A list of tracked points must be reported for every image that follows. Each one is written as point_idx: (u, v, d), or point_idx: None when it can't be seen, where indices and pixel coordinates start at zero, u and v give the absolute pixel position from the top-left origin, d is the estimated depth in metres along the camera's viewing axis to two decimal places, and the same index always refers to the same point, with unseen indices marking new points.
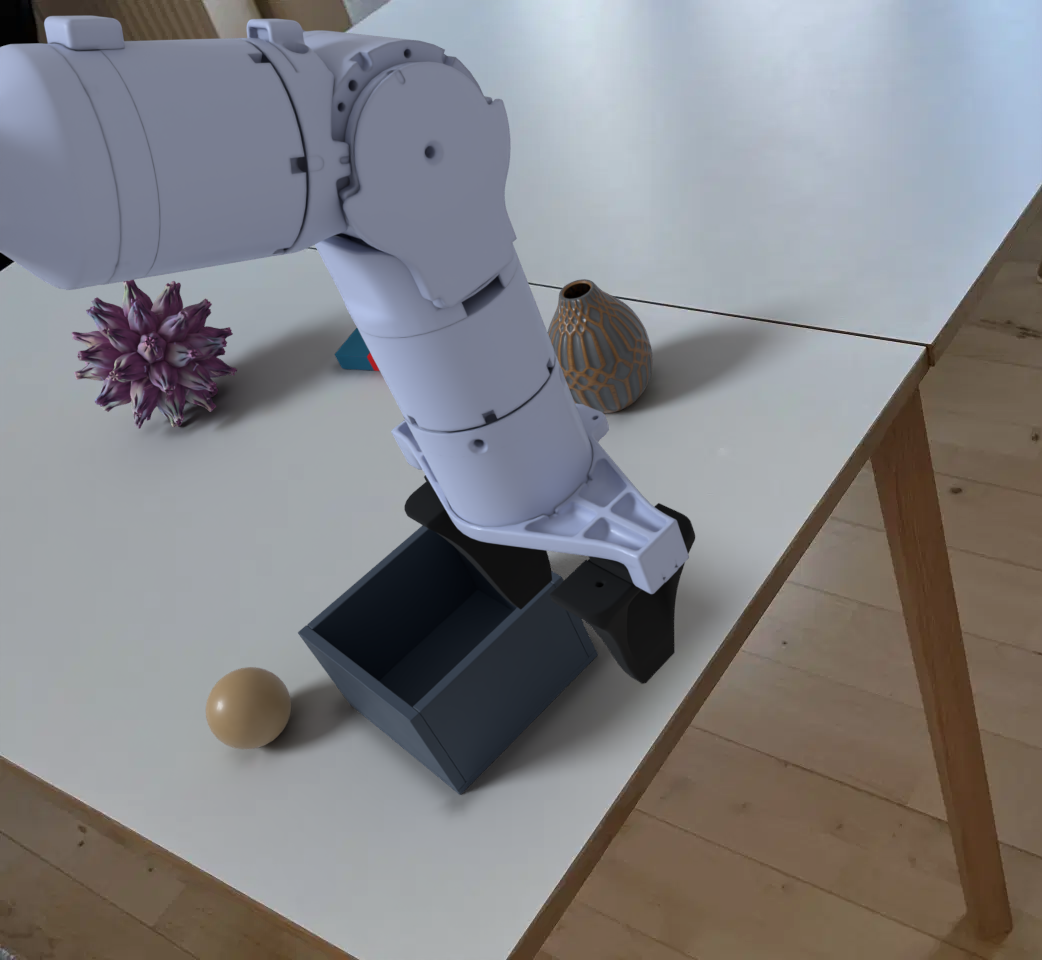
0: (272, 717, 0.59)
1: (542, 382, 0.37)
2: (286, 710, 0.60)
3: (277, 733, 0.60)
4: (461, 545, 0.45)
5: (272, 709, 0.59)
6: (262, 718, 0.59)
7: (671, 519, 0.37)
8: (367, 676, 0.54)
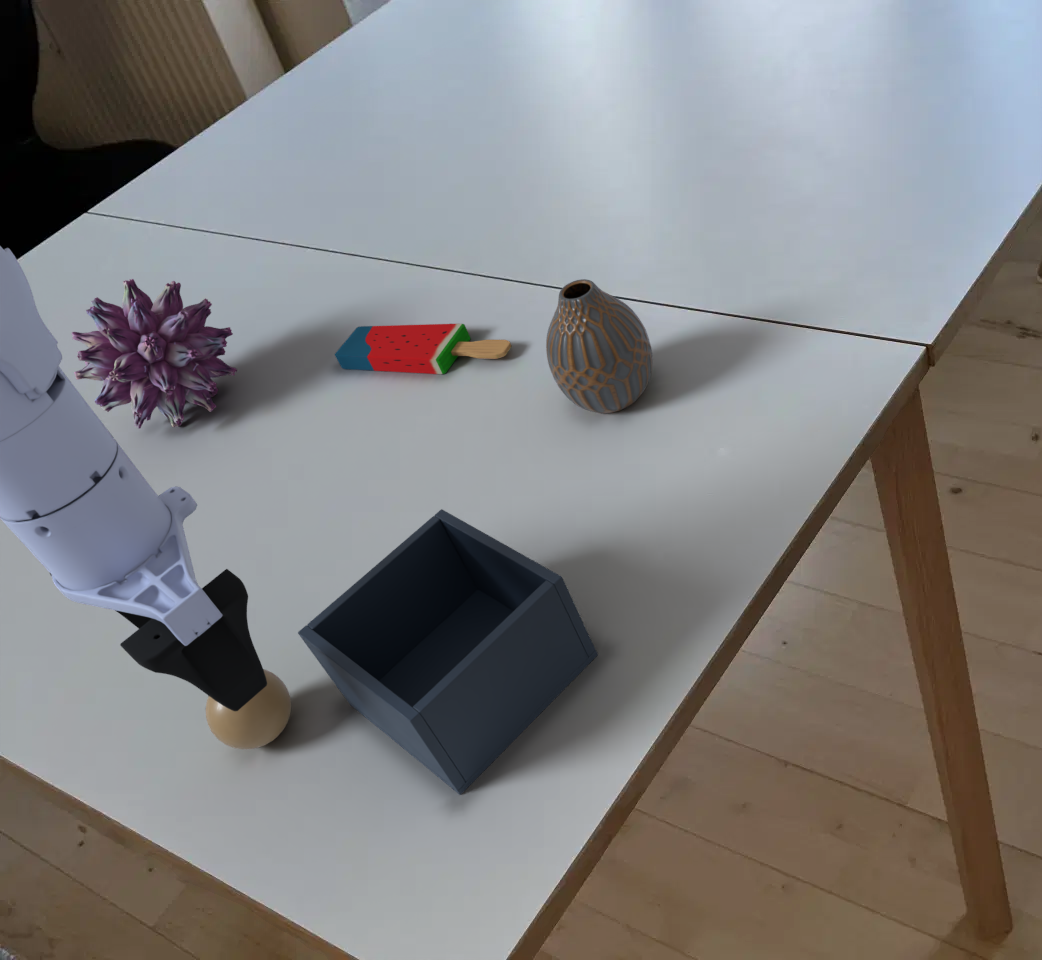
0: (272, 717, 0.59)
1: (94, 481, 0.47)
2: (286, 710, 0.60)
3: (277, 733, 0.60)
4: None
5: (272, 709, 0.59)
6: (262, 718, 0.59)
7: (197, 588, 0.48)
8: (367, 676, 0.54)
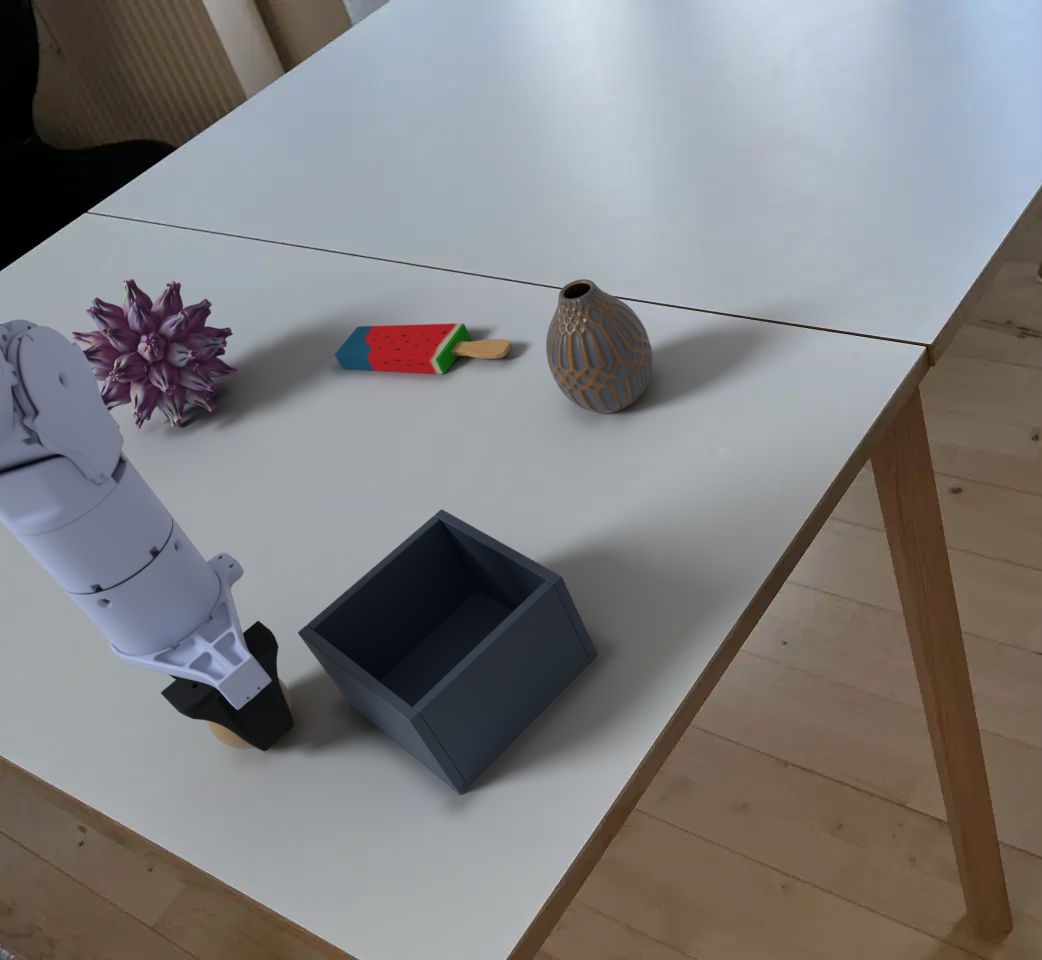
0: None
1: (152, 556, 0.50)
2: None
3: None
4: None
5: None
6: None
7: (249, 655, 0.51)
8: (367, 676, 0.54)
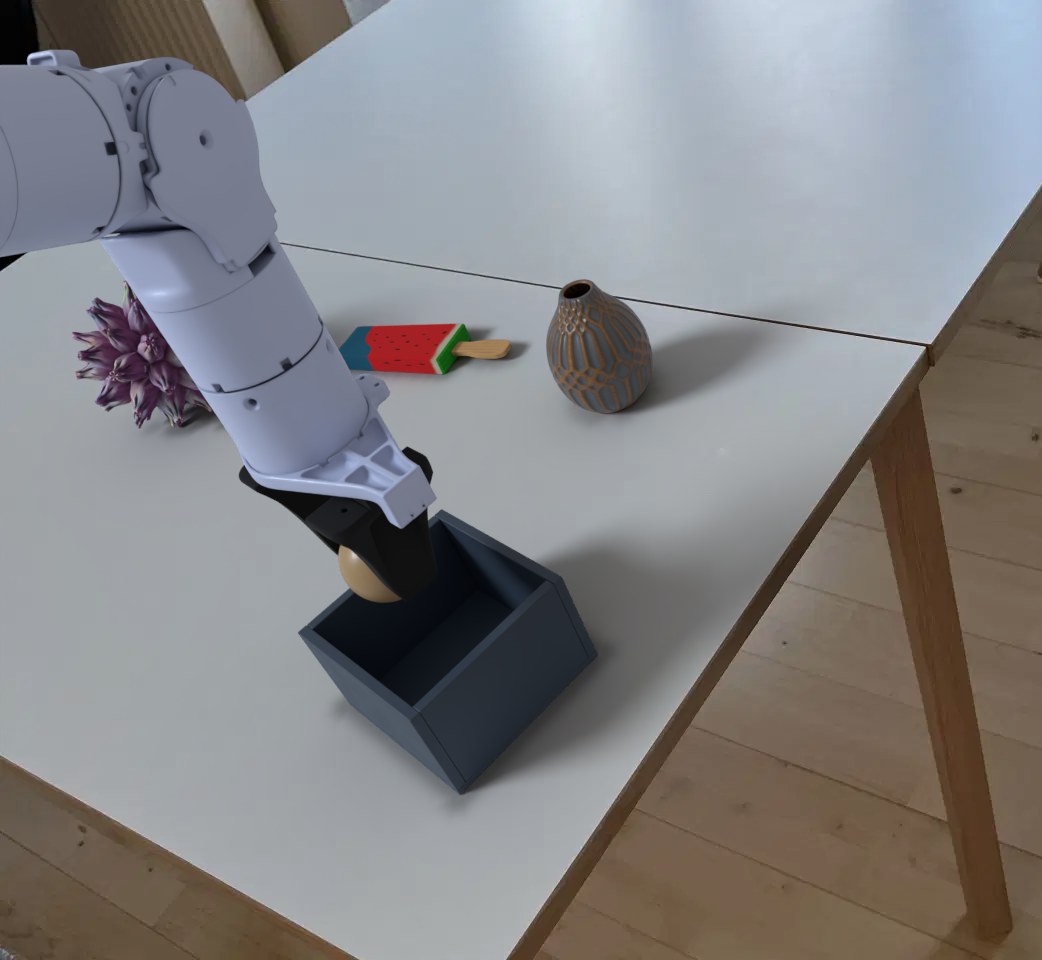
0: None
1: (305, 351, 0.44)
2: None
3: None
4: (289, 507, 0.52)
5: None
6: None
7: (415, 465, 0.44)
8: (367, 676, 0.54)
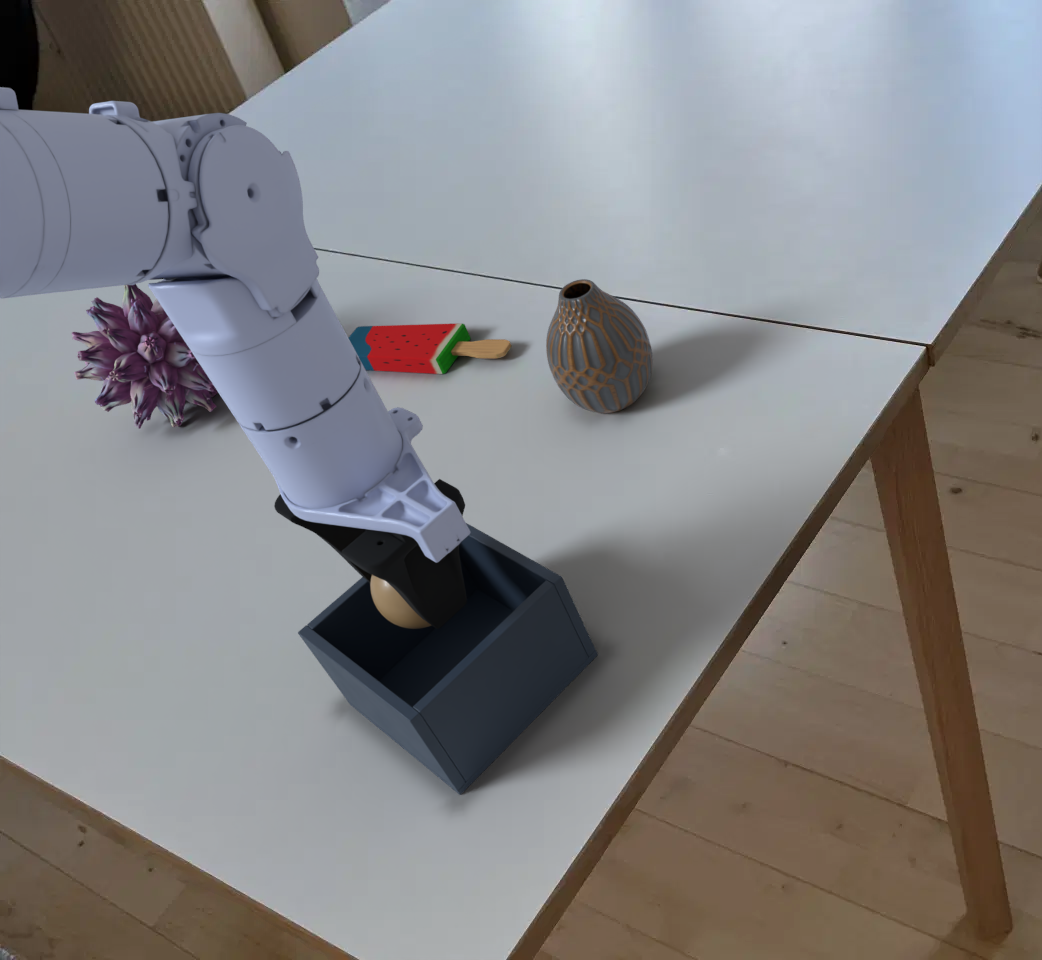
0: None
1: (344, 390, 0.46)
2: None
3: None
4: (323, 536, 0.53)
5: None
6: None
7: (450, 501, 0.46)
8: (367, 676, 0.54)
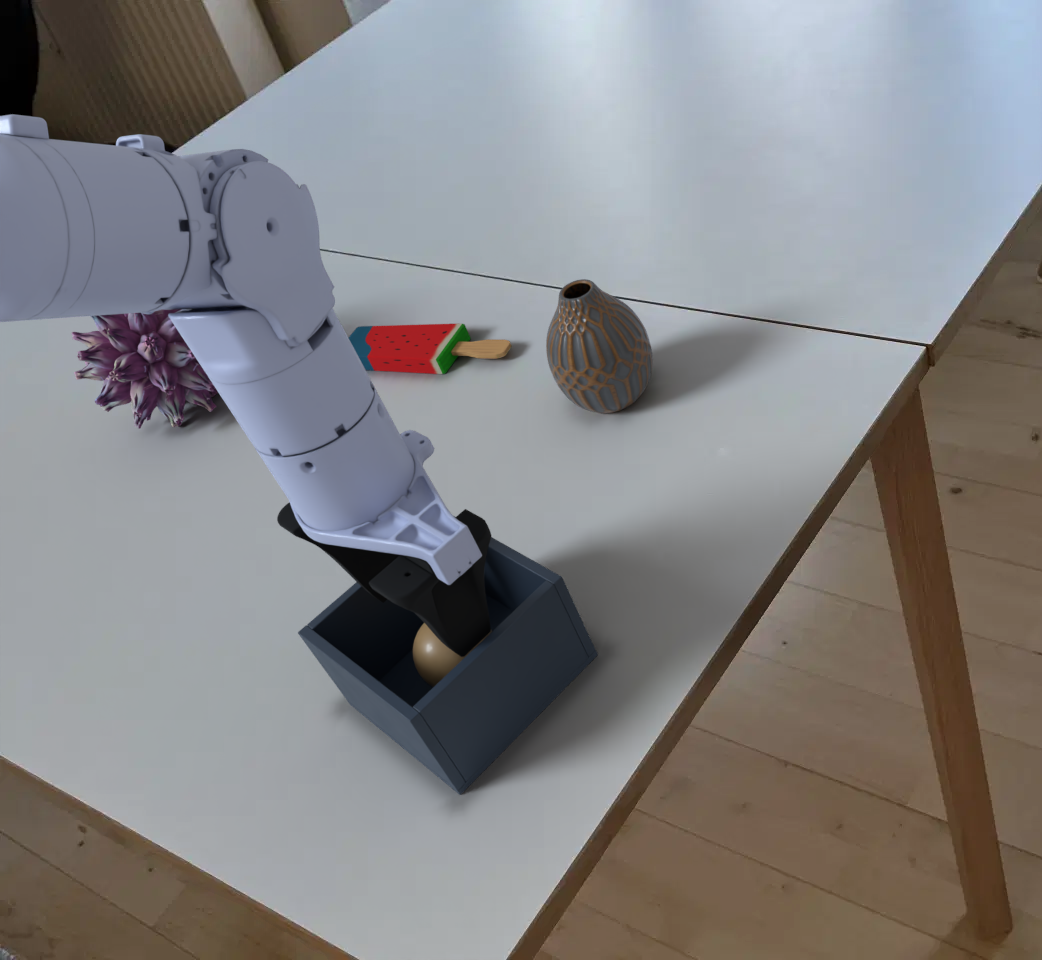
0: None
1: (359, 416, 0.46)
2: None
3: None
4: (324, 549, 0.55)
5: None
6: None
7: (463, 525, 0.47)
8: (367, 676, 0.54)
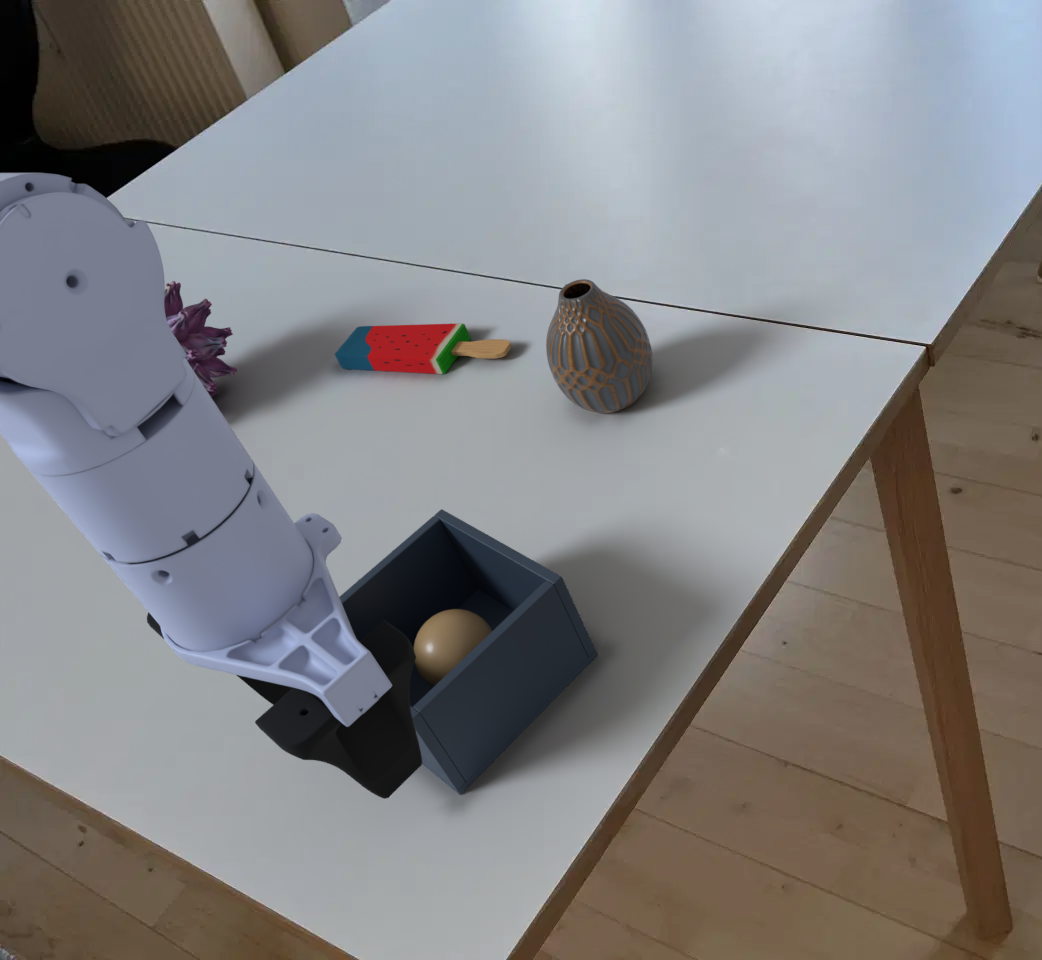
0: None
1: (229, 510, 0.36)
2: None
3: None
4: None
5: None
6: None
7: (365, 650, 0.36)
8: None
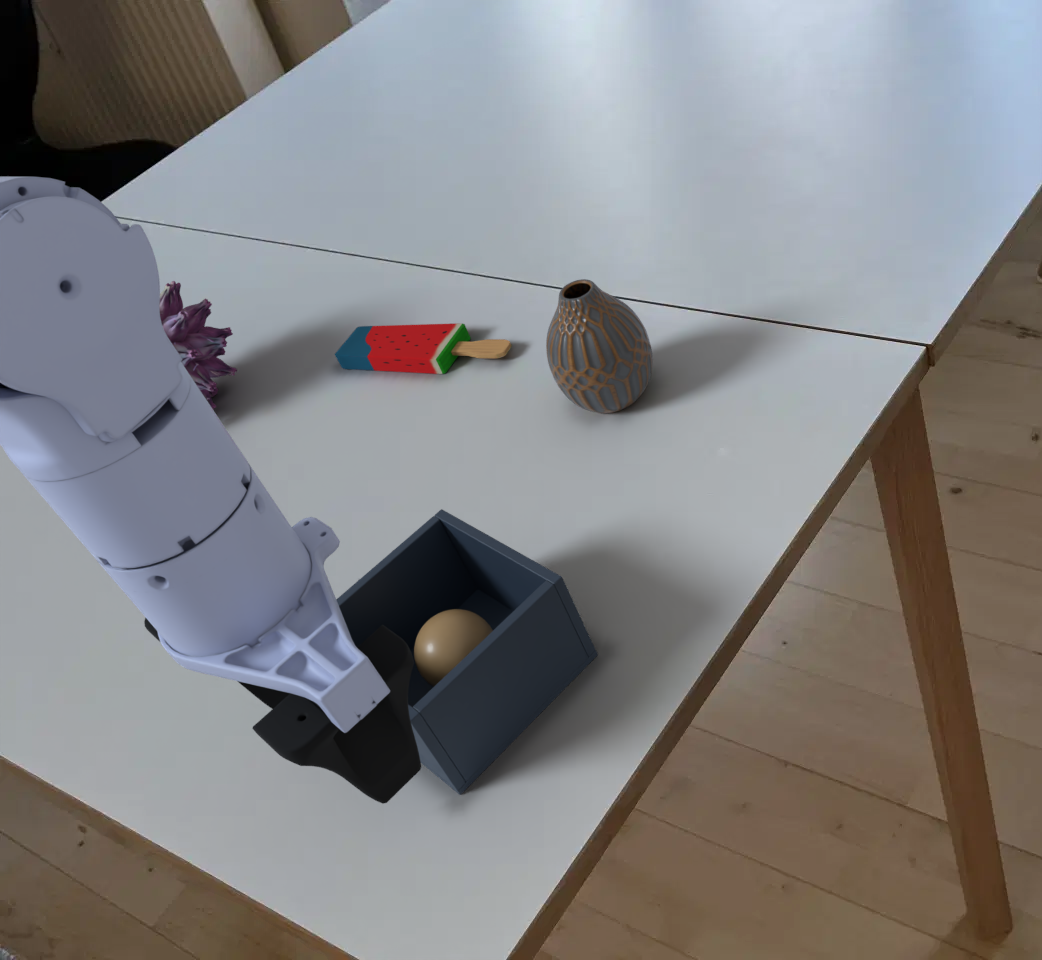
0: None
1: (226, 515, 0.36)
2: None
3: None
4: None
5: None
6: None
7: (362, 656, 0.36)
8: None
